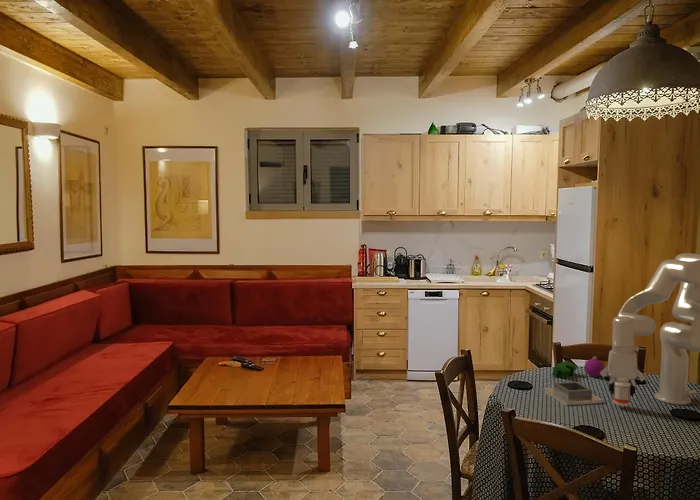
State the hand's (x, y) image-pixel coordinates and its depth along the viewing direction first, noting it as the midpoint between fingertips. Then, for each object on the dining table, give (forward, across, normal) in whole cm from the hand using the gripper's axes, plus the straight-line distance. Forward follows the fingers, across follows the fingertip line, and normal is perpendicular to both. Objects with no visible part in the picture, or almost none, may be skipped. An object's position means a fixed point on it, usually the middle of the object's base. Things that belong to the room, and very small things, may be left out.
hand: (621, 393), depth 204 cm
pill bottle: (+4, 0, 0) cm, 4 cm away
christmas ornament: (+7, +9, -38) cm, 40 cm away
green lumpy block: (+6, +21, -33) cm, 40 cm away
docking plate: (+5, +18, -5) cm, 19 cm away
